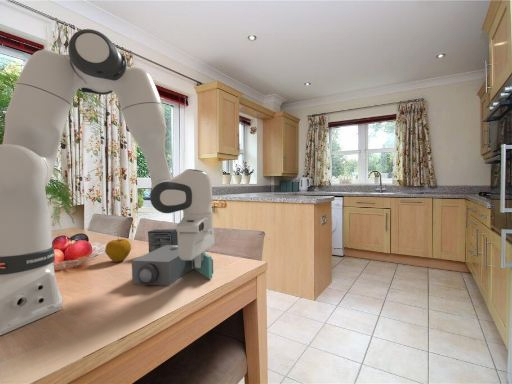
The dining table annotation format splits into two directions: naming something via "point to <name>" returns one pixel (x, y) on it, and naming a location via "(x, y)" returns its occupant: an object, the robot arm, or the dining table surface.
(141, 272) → the block
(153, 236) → the small box
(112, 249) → the apple
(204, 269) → the side door
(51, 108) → the robot arm
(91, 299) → the dining table surface
